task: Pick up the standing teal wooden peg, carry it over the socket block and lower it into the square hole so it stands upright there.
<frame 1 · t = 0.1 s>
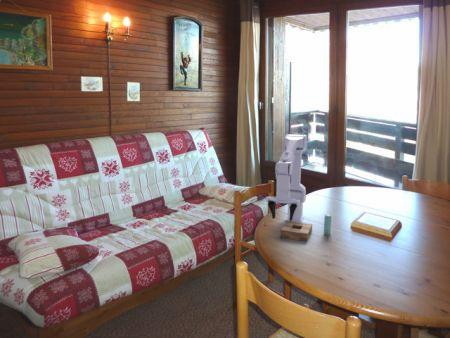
hand: (282, 219, 170), 10 cm above the table, fingers open, 7 cm apart
socket block: (296, 234, 179), on the table
peg: (327, 234, 179), on the table
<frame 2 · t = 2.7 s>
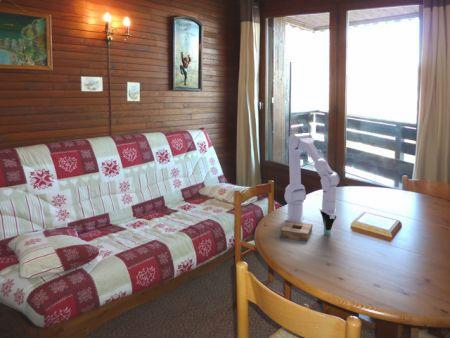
hand: (327, 228, 178), 3 cm above the table, fingers closed on peg, 3 cm apart
peg: (327, 234, 179), on the table, touching gripper
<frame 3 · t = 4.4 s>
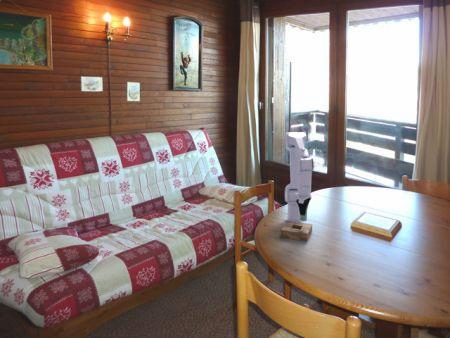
hand: (303, 213, 177), 10 cm above the table, fingers closed on peg, 3 cm apart
peg: (303, 219, 177), point 7 cm above the table, touching gripper
when the fingers open (4 cm above the table, at t = 6.3 s): peg drops 1 cm, resting in socket block.
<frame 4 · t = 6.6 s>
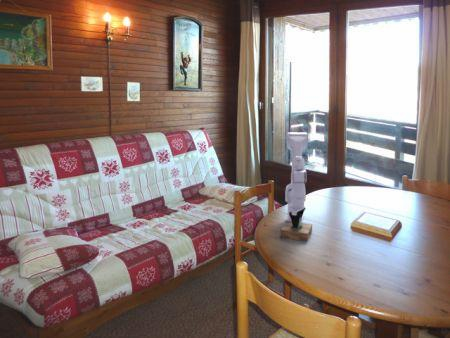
hand: (296, 225, 178), 4 cm above the table, fingers open, 6 cm apart
peg: (296, 234, 179), resting in socket block
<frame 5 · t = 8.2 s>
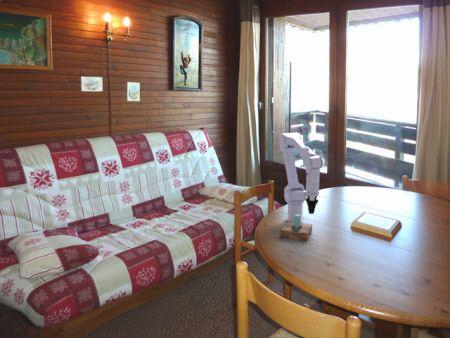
hand: (311, 210, 181), 10 cm above the table, fingers open, 7 cm apart
nothing on the table moved.
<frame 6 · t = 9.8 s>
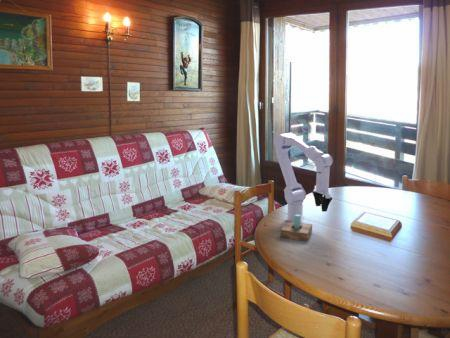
hand: (321, 208, 183), 10 cm above the table, fingers open, 7 cm apart
nothing on the table moved.
at the end: peg 0.1 cm off-centre on the socket block, point 0.0 cm above the socket block's base; peg tilted 0°; the gripper is holding nothing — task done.
